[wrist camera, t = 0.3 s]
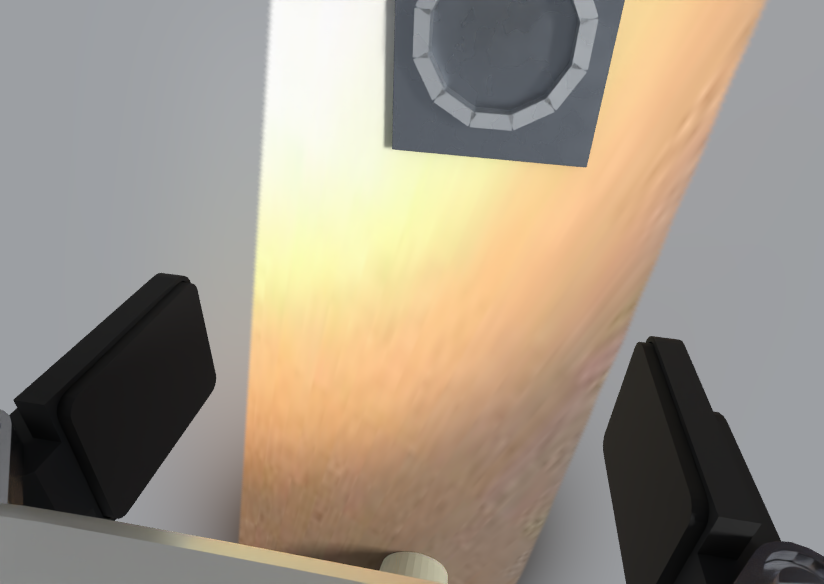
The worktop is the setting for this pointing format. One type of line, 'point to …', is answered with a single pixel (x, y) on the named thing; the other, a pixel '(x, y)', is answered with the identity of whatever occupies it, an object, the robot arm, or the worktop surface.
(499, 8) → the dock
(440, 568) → the reusable coffee cup
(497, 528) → the worktop surface
